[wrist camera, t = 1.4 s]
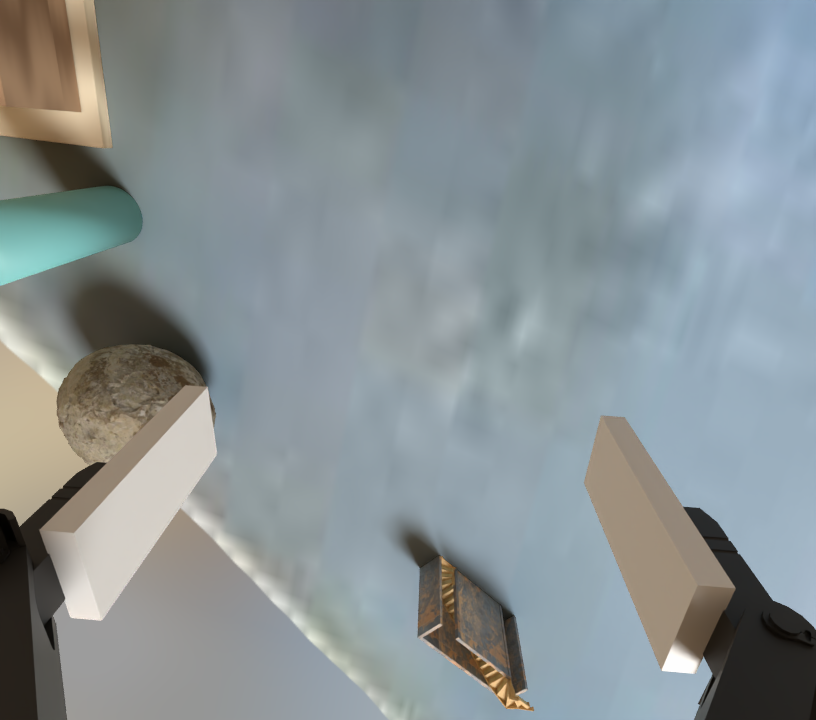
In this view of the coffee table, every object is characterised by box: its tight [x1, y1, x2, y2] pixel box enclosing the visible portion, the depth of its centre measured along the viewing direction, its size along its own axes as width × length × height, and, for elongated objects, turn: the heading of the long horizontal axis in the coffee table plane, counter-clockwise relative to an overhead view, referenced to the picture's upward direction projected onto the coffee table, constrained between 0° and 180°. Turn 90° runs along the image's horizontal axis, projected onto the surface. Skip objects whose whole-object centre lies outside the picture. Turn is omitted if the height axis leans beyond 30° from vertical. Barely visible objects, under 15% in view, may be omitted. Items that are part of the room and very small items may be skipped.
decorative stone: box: [57, 344, 216, 465], centre depth 36 cm, size 10×8×10 cm
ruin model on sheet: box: [418, 555, 534, 711], centre depth 45 cm, size 11×3×10 cm, turn 45°
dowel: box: [0, 186, 142, 286], centre depth 29 cm, size 4×4×12 cm
